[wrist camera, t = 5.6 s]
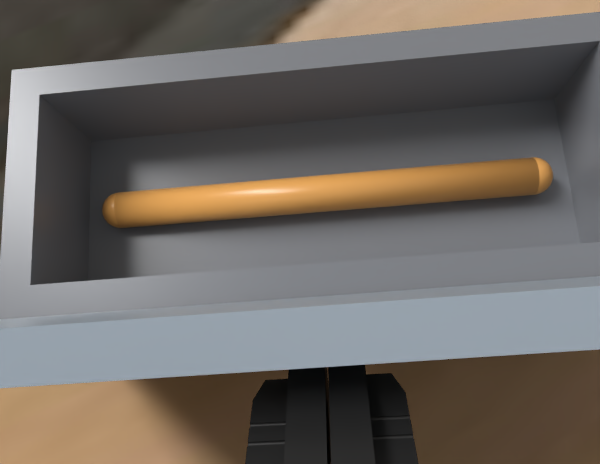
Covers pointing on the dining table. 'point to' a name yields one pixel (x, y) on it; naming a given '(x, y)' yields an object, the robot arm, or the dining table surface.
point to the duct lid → (303, 333)
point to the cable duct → (305, 169)
